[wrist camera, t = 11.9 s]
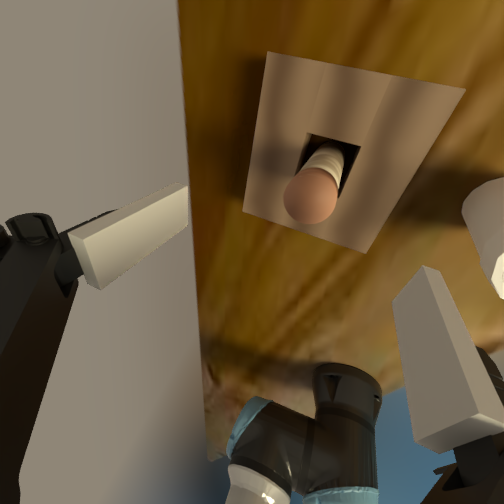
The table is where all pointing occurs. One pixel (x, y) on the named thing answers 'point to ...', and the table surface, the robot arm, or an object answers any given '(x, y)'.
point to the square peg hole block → (343, 129)
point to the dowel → (316, 185)
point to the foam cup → (488, 229)
